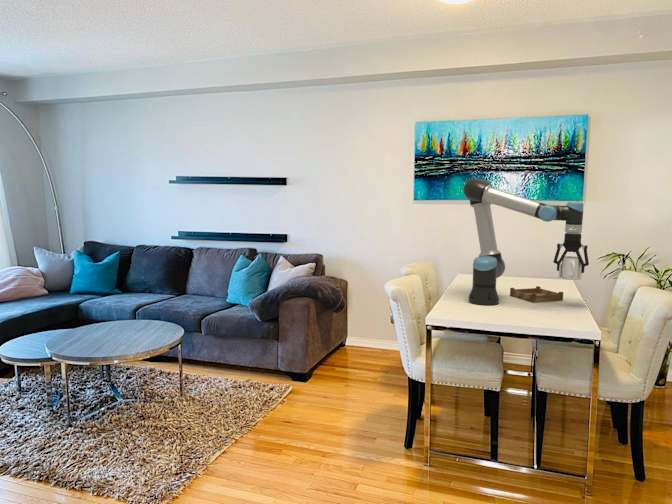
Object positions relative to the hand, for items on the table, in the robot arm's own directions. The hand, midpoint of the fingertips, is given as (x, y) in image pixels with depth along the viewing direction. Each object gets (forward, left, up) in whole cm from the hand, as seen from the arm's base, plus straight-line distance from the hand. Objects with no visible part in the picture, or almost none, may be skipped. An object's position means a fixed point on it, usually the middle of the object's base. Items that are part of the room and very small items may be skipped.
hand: (569, 278), depth 257 cm
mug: (0, 0, 0) cm, 1 cm away
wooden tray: (-18, +14, -14) cm, 27 cm away
